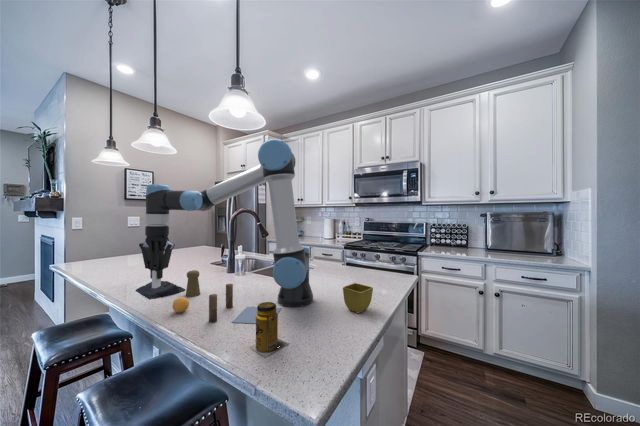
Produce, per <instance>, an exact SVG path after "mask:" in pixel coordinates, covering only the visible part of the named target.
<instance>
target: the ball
mask: <svg viewBox="0 0 640 426" xmlns="http://www.w3.org/2000/svg"><path fill="white" fill-rule="evenodd" d="M171 307H172V310H173V311H174V312H175V313H179V314H180V313H184V312H186V311H187V310H188V308H189V307H190V301H189V299H188V297H186V296H185V297H184V296H181V297H177V298H176V299H175V300H174V301H173V302H172V306H171Z"/></svg>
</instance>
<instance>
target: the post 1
mask: <svg viewBox="0 0 640 426" xmlns="http://www.w3.org/2000/svg"><path fill="white" fill-rule="evenodd" d="M217 321H218V294H217V293H212V294H209V295H208V322H209V323H210V324H213V323H216V322H217Z"/></svg>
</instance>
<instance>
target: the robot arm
mask: <svg viewBox="0 0 640 426" xmlns="http://www.w3.org/2000/svg"><path fill="white" fill-rule="evenodd" d="M257 158H258V162H259V165H256V166H255V167H252V168H249V169H247V170H245V171H243V172H241V173H239V174H237V175H235V176H233V177H229V178H228V179H226V180H223V181H221V182H219V183H217V184H215V185H213V186H210V187H208V188H207V189H205V190H202V191H198V190H190V189H189V190H187V189H186V190H171V189H170V186H169V185H167V184H166V185H165V184H154V183H152V184H151V183H150V184H148V185H147V186H146V187H145V188H146V190H145V217H144V218H145V222H144V223H145V225H146V226H145V227H144V228H145V229H144V231H145V233H144V234H145V235H144V236H146V238H145V241H143V242H141V243H138V247H139V248H140V249H141V254H142V258H143V264H144V269H148V270H149V271H150V279H151V282H152V288H158V287H160V286H161V281H162V278H163V273H164V272H163V270H165V269H168V268H169V264H170V261H171V256H172V252H173V249H174V248H175V245H176V244H175V243H171V242H170V240H169V234H170V233H169V232H170V226H169V224H170V211H188V212H189V211H191V212H194V211H199V212H206V211H210V210H212V208H214V206H215V205H218V204H220V203H222V202H224V201H227V200H229V199H231V198H233V197H236V196H238V195H241V194H242V193H244V192H247V191H249V190H251V189H254V188H255V187H258V186H260V185H263V184H264V183H267V184H268V190H269V197H270V198H269V199H270V205H271V212H272V213H271V214H272V223H273V229H274V238H275V244H276V245H275V248H274V250H273V252H272V256H273V263H274V264H273V268H272V277H273V280H274V282H275V283H276V284H277V285H278V286H279V287H280V288H279V291H278V295H277V303H278V304H279V305H280V306H283V307H289V308H300V307H304V306H308V305H310V304H312V303H313V302H312V301H314V294H313V293H314V292H313V291H312V287H311V284H310V249H309V248H308V247H305V246H303V245H301V244H300V239H299V238H300V237H299V229H298V223H297V215H296V206H295V198H294V191H293V179H294V178H295V177H296V174H295V173H296V172H295V167H296V157H295V154H294V153H293V152H292V148H291V146H289V144H288V143H286V141H284V140H282V139H279V138H271V139H267V140H265V141H264V142H263V143H262V144H261V145H260V147H259V148H258V152H257Z"/></svg>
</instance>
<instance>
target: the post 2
mask: <svg viewBox="0 0 640 426" xmlns="http://www.w3.org/2000/svg"><path fill="white" fill-rule="evenodd" d="M233 287H234V284H233V283H227V284H225V309H232V308H233V306H234V305H233V303H234V302H233V300H234V298H233V296H234V293H233V292H234V291H233V289H234V288H233Z"/></svg>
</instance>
